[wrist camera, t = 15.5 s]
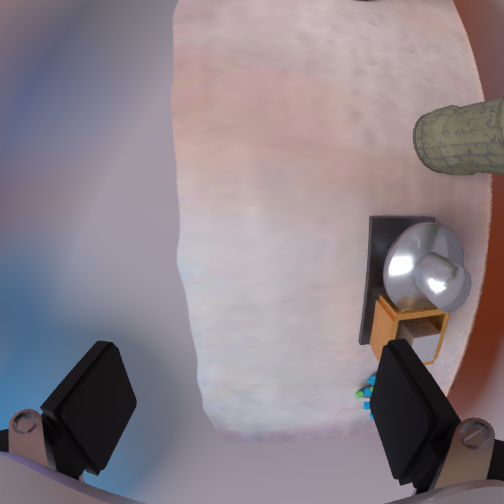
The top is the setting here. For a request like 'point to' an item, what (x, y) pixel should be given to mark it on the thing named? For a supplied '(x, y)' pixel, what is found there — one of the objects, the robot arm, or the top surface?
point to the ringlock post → (410, 277)
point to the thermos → (462, 138)
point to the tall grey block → (419, 336)
